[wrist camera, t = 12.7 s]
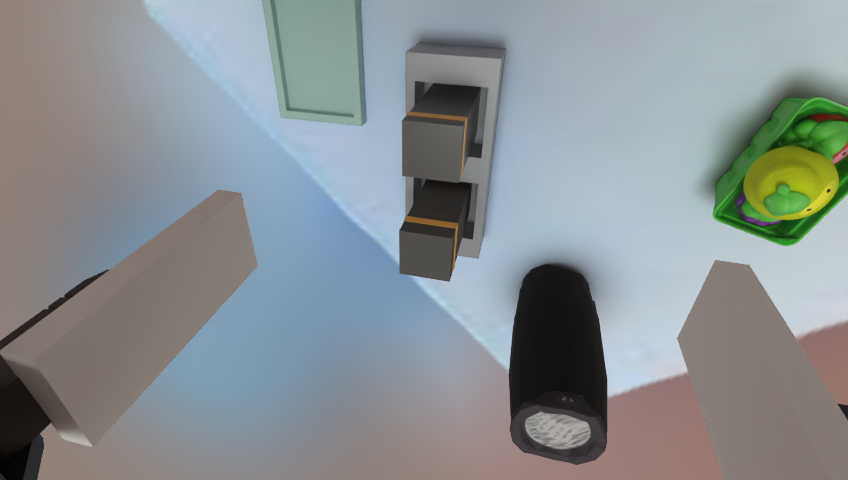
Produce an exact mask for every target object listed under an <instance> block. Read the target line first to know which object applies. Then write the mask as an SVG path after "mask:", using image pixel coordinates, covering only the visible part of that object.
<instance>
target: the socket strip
mask: <svg viewBox="0 0 848 480" xmlns="http://www.w3.org/2000/svg"><path fill="white" fill-rule="evenodd" d="M505 50H506V49H501V48H486V47H472V46H458V45H443V44H429V43H418V44H416V45H415V46H414V47H412V48H411V49H409V50H408V51H407V52H406V117H405V118H404V119H403V120H402V176H406V216H407V215H408V213H409V211H410V210H411V208H412V206H413V204H414V202H415V200H416V198H417V196H418V194H419V192H420V190H421V188H422V187H423V185H424V183H425V181H426V179H431V180H439V181H447V182H455V183H459V181H460V182H468V183H472V191H471V201H470V212H469V217H468V220H467V224H466V227H465V230H464V234H463V237H462V241H461V244H460V247H459V251H458V254H457V255H458V256H464V257H471V258H477V259H479V254H480V250H481V245H482V241H483V236H484V227H485V219H486V211H487V202H488V194H489V185H490V177H491V168H492V160H493V152H494V143H495V135H496V126H497V118H498V109H499V101H500V92H501V84H502V76H503V67H504V59H505Z"/></svg>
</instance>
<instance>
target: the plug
mask: <svg viewBox="0 0 848 480" xmlns="http://www.w3.org/2000/svg"><path fill="white" fill-rule="evenodd" d="M471 191H472V183H468V182H460V181H459V183H455V182H447V181H439V180H431V179H426V181H425V183H424V185H423V187H422V188H421V190H420V192H419V194H418V196H417V198H416V200H415V202H414V204H413V206H412V208H411V210H410V211H409V213H408V215H407V216H406V217H405V219H404V223H403V225H402V227H401V229H400V231H399V246H400V273H401V274H406V275H413V276H419V277H425V278H431V279H437V280H443V281H449V282H450V278H451V275H452V271H453V270H454V267H455V261H456V258H457V254H458V251H459V247H460V244H461V241H462V237H463V234H464V230H465V227H466V224H467V220H468V217H469V212H470V201H471Z"/></svg>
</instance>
